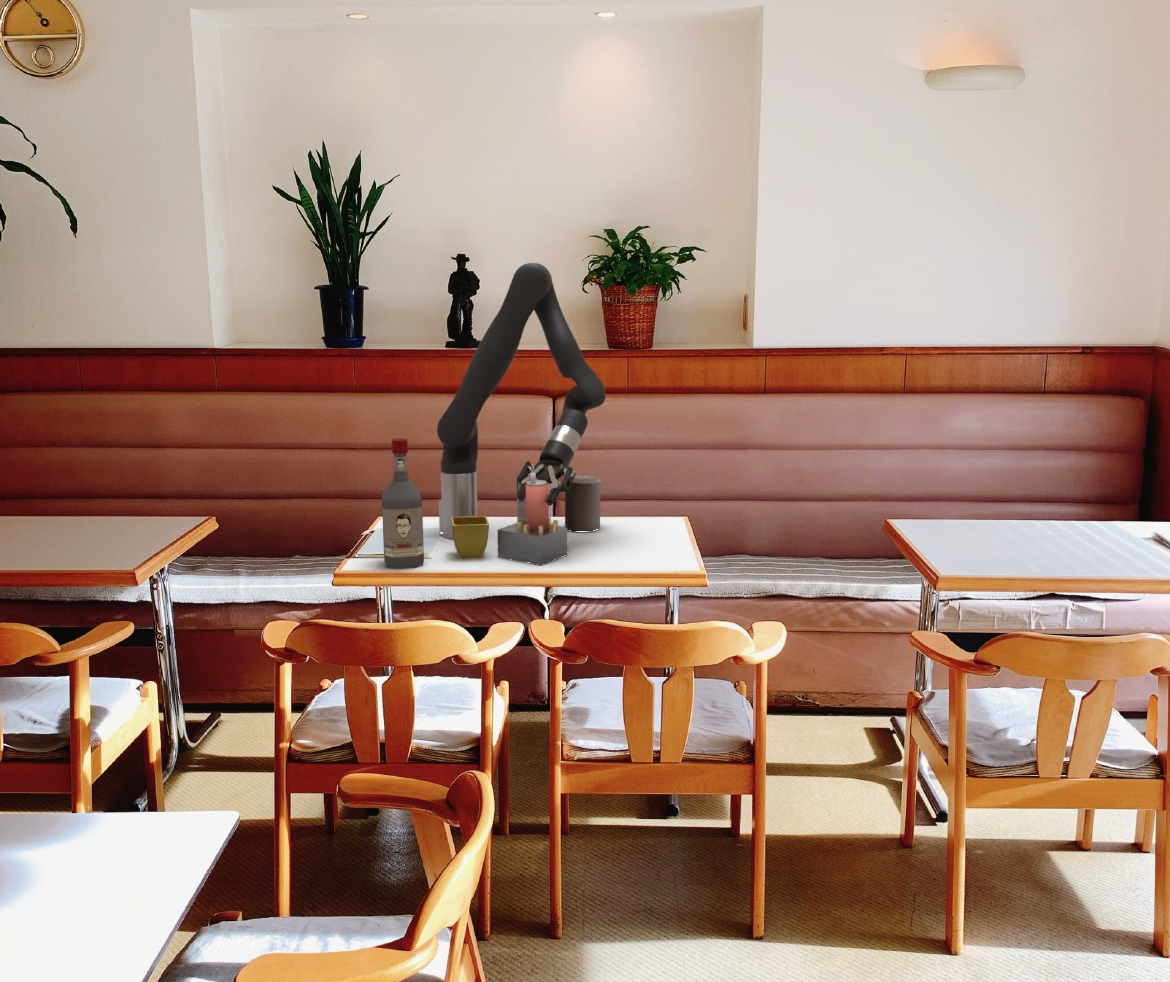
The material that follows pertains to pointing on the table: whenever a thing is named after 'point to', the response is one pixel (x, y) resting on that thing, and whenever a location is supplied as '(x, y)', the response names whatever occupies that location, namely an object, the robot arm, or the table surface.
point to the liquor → (402, 515)
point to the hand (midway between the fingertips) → (533, 501)
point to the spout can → (537, 503)
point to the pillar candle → (583, 504)
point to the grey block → (532, 542)
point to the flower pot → (470, 535)
